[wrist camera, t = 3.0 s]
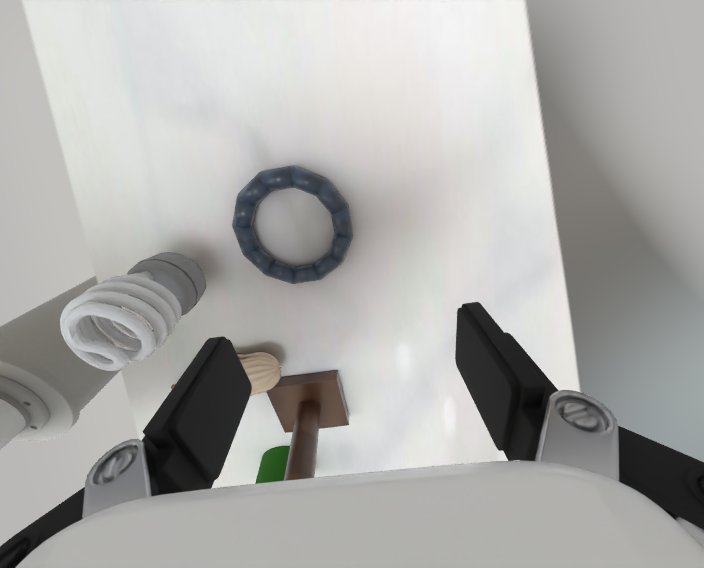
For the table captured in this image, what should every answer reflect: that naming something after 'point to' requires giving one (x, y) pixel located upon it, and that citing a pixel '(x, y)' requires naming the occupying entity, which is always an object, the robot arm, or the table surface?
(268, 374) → the figurine
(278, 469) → the candle
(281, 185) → the segmented blue ring
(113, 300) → the light bulb
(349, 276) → the table surface
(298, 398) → the stand
